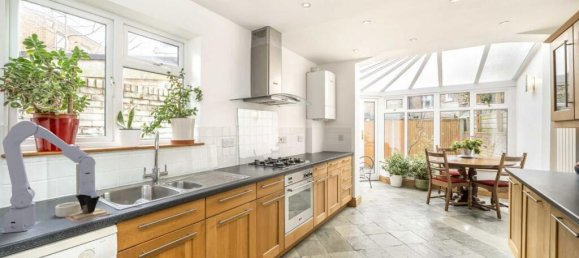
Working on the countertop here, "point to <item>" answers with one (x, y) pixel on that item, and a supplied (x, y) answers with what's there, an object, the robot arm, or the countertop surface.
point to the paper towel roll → (78, 179)
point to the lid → (86, 213)
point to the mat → (84, 219)
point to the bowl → (67, 209)
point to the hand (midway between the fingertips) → (87, 210)
